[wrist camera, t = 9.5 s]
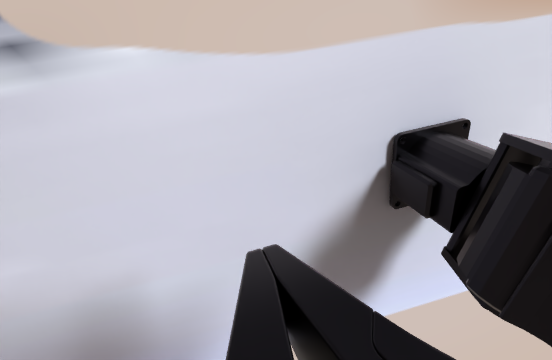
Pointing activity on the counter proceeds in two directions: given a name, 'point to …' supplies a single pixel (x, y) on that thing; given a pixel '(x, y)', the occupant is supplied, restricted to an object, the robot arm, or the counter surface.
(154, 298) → the counter surface
